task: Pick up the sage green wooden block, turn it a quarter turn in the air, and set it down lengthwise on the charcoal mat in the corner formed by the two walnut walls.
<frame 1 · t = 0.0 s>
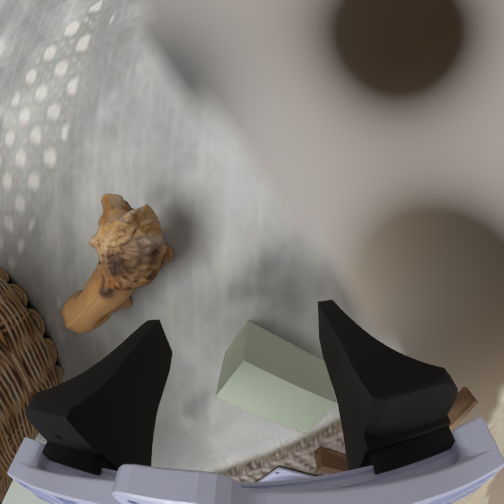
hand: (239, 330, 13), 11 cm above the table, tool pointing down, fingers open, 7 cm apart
sage block: (275, 357, 25), on the table
wicker basket: (6, 337, 27), on the table
lion figurine: (130, 261, 24), on the table
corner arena: (398, 413, 27), on the table
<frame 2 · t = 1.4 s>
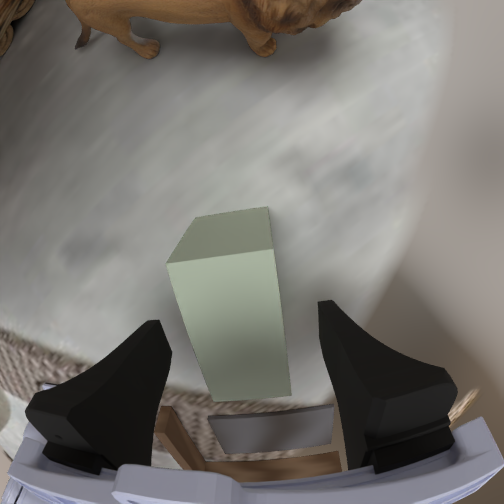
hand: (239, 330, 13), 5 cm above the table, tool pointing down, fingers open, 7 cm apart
sage block: (243, 276, 18), on the table
lion figurine: (209, 17, 12), on the table
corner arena: (274, 432, 24), on the table
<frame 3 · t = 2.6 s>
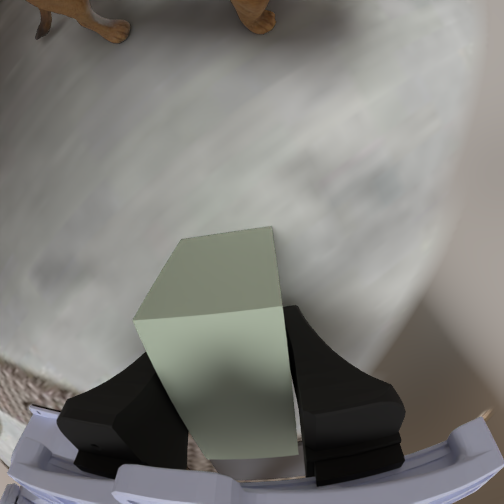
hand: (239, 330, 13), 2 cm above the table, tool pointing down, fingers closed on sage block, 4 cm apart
sage block: (241, 309, 14), on the table, touching gripper
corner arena: (276, 461, 21), on the table
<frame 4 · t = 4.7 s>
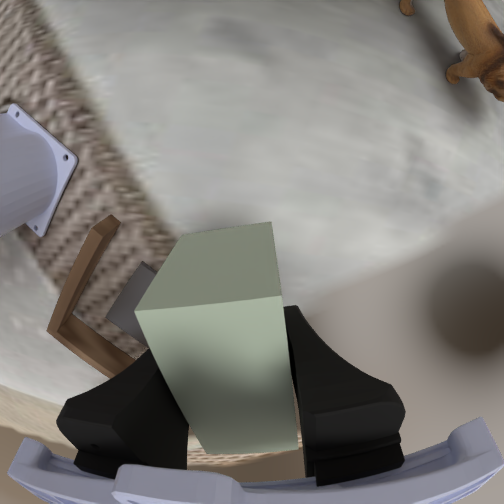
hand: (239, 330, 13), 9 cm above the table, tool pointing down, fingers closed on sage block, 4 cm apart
sage block: (241, 305, 14), point 7 cm above the table, touching gripper
lion figurine: (442, 35, 14), on the table
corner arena: (176, 328, 24), on the table
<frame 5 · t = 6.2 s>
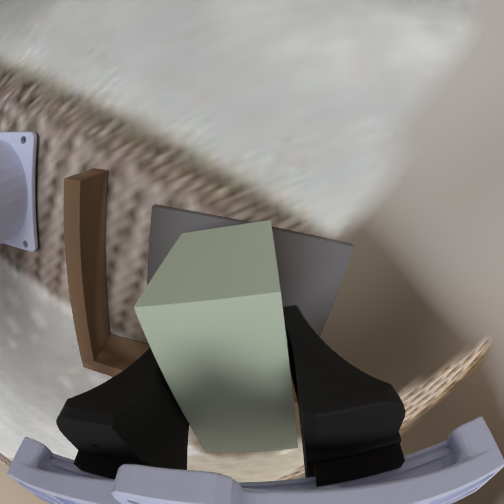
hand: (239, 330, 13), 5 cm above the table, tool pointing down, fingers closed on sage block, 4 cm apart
sage block: (240, 303, 15), point 3 cm above the table, touching gripper
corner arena: (242, 280, 17), on the table
when the fingers open (3 cm above the table, at t = 7.3 s): sage block stays where it is, resting on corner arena.
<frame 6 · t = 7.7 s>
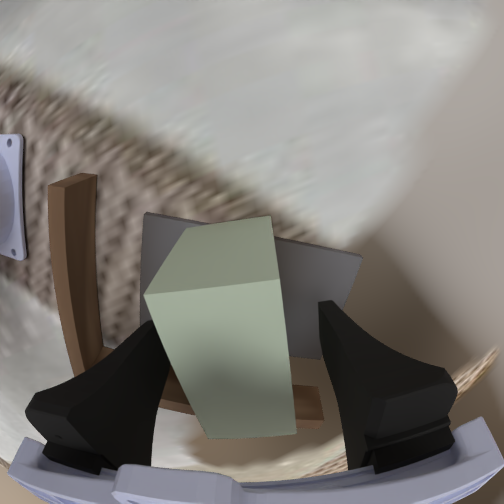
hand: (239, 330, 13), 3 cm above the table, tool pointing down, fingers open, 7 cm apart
sage block: (241, 295, 15), resting on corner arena
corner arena: (242, 294, 16), on the table
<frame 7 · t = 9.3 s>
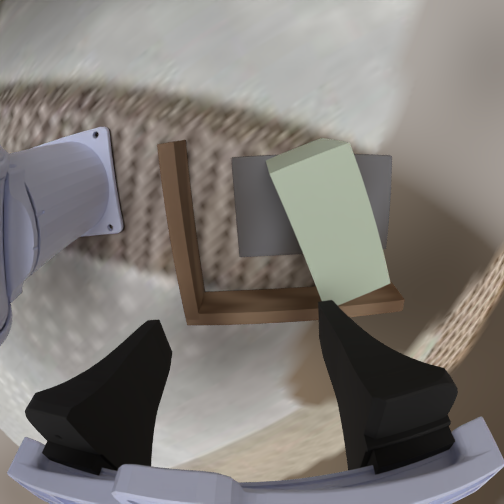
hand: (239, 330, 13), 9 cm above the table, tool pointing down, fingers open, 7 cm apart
sage block: (316, 203, 20), resting on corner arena
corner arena: (315, 204, 20), on the table
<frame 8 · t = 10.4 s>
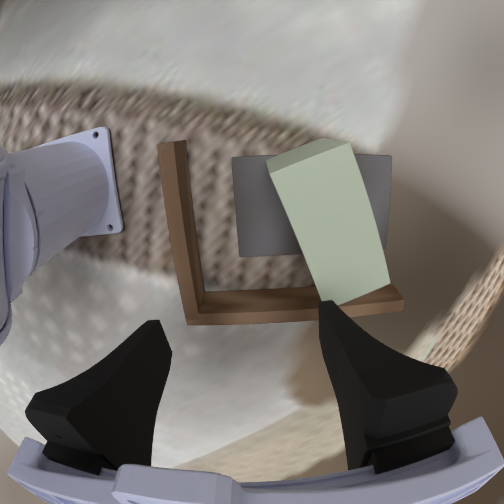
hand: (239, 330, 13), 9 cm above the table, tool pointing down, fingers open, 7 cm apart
sage block: (316, 203, 20), resting on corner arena
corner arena: (315, 204, 20), on the table
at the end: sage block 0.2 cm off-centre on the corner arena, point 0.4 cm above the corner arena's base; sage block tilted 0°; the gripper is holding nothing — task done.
